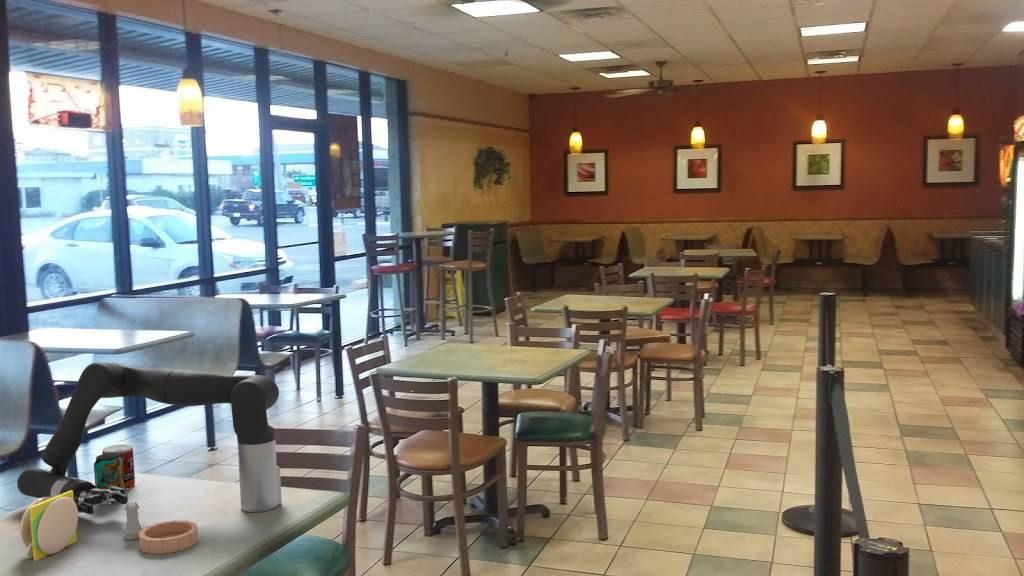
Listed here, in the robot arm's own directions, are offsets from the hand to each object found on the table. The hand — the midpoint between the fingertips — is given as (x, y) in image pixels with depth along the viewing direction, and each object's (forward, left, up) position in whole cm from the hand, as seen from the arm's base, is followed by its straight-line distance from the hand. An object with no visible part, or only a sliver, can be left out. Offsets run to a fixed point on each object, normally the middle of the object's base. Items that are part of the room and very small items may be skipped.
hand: (109, 504), depth 220 cm
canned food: (-20, -29, -6) cm, 36 cm away
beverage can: (-12, -20, -6) cm, 24 cm away
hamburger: (+15, +1, -6) cm, 16 cm away
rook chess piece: (0, +10, -6) cm, 11 cm away
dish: (-2, +21, -6) cm, 22 cm away
